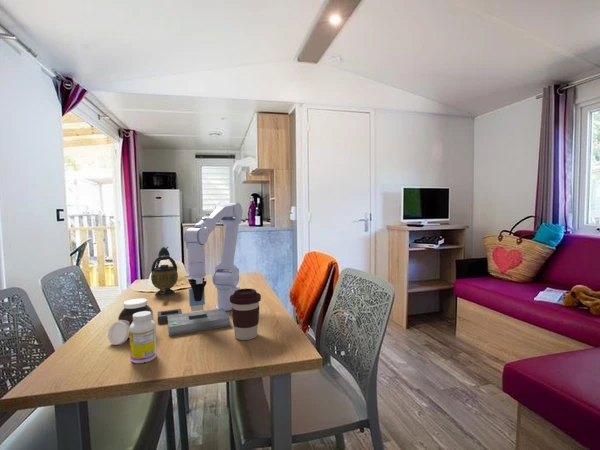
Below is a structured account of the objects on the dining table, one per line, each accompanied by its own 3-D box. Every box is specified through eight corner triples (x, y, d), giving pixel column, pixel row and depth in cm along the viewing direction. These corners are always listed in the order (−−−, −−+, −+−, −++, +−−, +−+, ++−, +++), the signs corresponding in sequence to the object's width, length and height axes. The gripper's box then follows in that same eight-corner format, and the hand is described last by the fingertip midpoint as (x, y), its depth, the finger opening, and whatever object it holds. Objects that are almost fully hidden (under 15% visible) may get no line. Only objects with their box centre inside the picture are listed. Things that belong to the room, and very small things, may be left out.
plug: (203, 307, 118) (203, 285, 117) (204, 310, 115) (204, 287, 114) (189, 309, 116) (188, 287, 115) (190, 311, 113) (189, 289, 112)
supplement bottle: (136, 353, 94) (134, 310, 93) (160, 352, 94) (158, 309, 93) (126, 365, 87) (124, 318, 86) (151, 363, 88) (149, 317, 87)
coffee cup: (266, 332, 109) (265, 288, 108) (252, 344, 99) (251, 296, 98) (240, 328, 112) (239, 286, 111) (224, 340, 103) (223, 293, 102)
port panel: (223, 315, 125) (223, 307, 125) (229, 326, 114) (229, 317, 114) (167, 323, 117) (167, 314, 117) (168, 336, 106) (168, 326, 106)
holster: (181, 314, 127) (181, 308, 127) (182, 320, 121) (182, 313, 121) (157, 318, 123) (157, 311, 123) (157, 323, 118) (157, 316, 117)
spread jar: (156, 330, 111) (155, 297, 110) (146, 344, 100) (145, 307, 99) (118, 333, 109) (116, 299, 108) (104, 347, 98) (102, 309, 97)
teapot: (179, 288, 167) (177, 244, 166) (177, 302, 144) (175, 250, 142) (153, 290, 164) (152, 245, 162) (147, 305, 140) (145, 251, 139)
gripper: (182, 259, 119) (184, 295, 120) (186, 266, 106) (187, 306, 107) (202, 258, 122) (203, 293, 123) (208, 264, 109) (209, 304, 110)
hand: (197, 299), depth 115 cm, fingers closed on plug, 3 cm apart
